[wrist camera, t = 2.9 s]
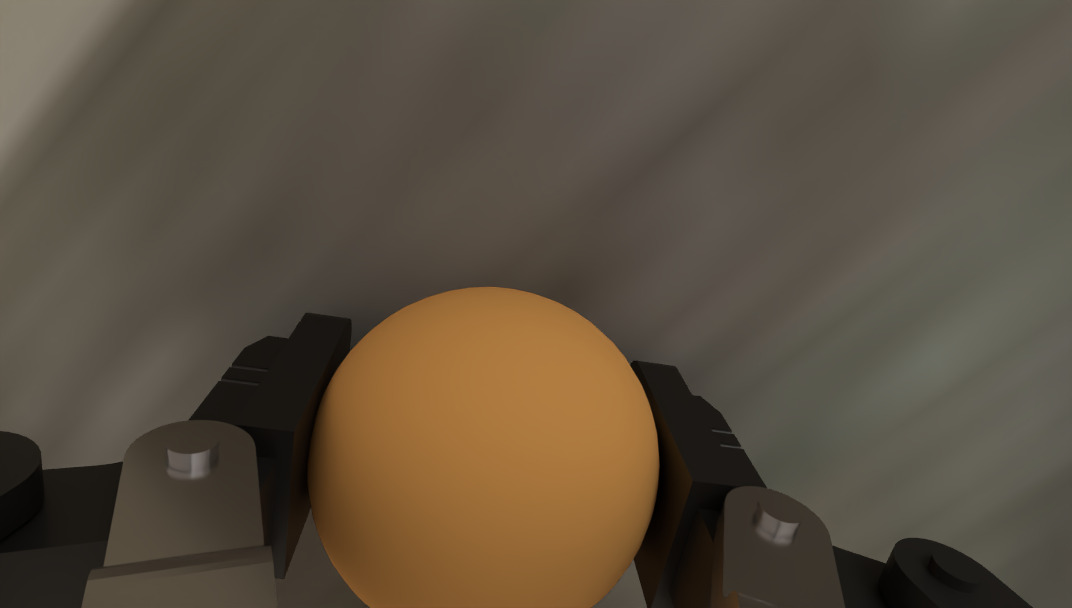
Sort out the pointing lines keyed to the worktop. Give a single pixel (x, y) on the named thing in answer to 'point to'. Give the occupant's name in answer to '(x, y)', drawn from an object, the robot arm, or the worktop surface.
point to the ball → (483, 457)
